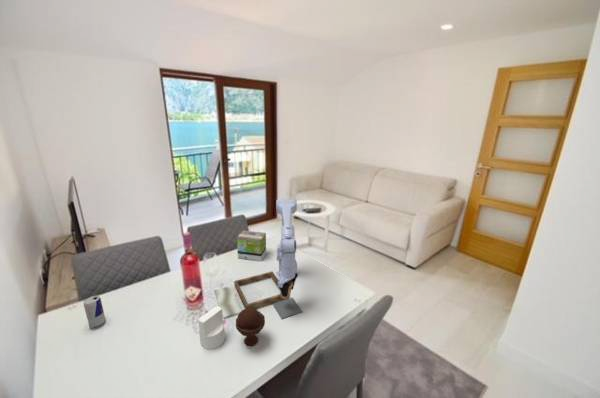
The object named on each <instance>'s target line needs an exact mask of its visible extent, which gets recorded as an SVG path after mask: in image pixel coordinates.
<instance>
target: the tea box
mask: <svg viewBox="0 0 600 398" xmlns="http://www.w3.org/2000/svg"><path fill="white" fill-rule="evenodd" d="M236 245H237V246H236V247H237V249H236V250H237V258H238V259H242V260H250V261H257V262H262V261H263V259H264V258H265V256H266V254H267V233H266V232H261V231H253V230H242V231H241V232H240V233H239V234H238V236H237V237H236Z"/></svg>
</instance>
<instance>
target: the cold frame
mask: <svg viewBox="0 0 600 398" xmlns="http://www.w3.org/2000/svg"><path fill="white" fill-rule="evenodd" d="M278 278H279V277H278V276H276V274H275V272H273V271H268V272H264V273H261V274H257V275H253V276H249V277H246V278H242V279H240V278H239V279H238V280H235V281H234V282H233V283H234V285H233V286H234V288H235V291H236V292H237V295H238V297H239V299H240V301H241V303H242V305H243V307H244V309H247V308H250V309H251V308H253V309H256V310H258V309H261V308H264V307H266V306H269V305H273V304H274V303H277V302H280V301H283V300H287V299H282V298H281V297H280V293H279V294H276V295H273V296H270V297H266V298H263V299H262V298H261V299H260V300H255V301H253V302H250V303H248V301H247V299H246V297H245V295H244V292H243V290H242V289H241V287H243V286H246V285H250V284H255V283H258V282H261V281H264V280H269V279H271V280H272V282H273V283H274V284H275V286H276V288H277V289H278V290H279V292H280V291H281V290H280V288H279V287H278V285H277V282H278V281H279V279H278ZM214 294H215V297H216V299H217V304H218V306H219V307H221V308H222V315H223V320H224V319H227V318H228V319H229V318H231V317H235V316H238V315H239V313H240V312H241V311H242V310H243V309H241V305H240V304H239V301H238V299H237V297H236V296H237V295H235V292H234V290H233V288H232V286H231V285H230V286H226V287H222V288H219V289H215V290H214Z"/></svg>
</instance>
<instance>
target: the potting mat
mask: <svg viewBox="0 0 600 398" xmlns="http://www.w3.org/2000/svg"><path fill="white" fill-rule="evenodd" d="M272 306H273V307H274V309H275V311H276V312H277V314H278V315H279V317H280V319H281V320H283V319H284V320H285V319H287V318H290V317H293V316H296V315H298V314H301V313H303V310H302V308H301V307H300V305H298V302H296V300H295V299H294V297H290V298H289V299H286V300H283V301H280V302H277V303H273V304H272Z"/></svg>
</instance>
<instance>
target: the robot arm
mask: <svg viewBox="0 0 600 398" xmlns="http://www.w3.org/2000/svg"><path fill="white" fill-rule="evenodd" d="M275 203H276V204H275V205H276V206H275V207H276V210H275V211H276V213H277V214H280V216H281V227H280V233H281V235H280V236H281V237H280V241H279V242H280V244H278V245H277V246H276V261H277V262H278V271H276V272H275V273H276V274H275V275H277V277H278V278H279V279H278V280H279V281H278V282H277V285H278V287H279V288H280V290H281V293H282V296H284V297H287V295H288V289H289V287H290V285H291V284H288V283H287V282H288V281H289V280H291V281H292V282H293V287H292V289H291V291H292V290H293V289H294V287H295V284H296V280H297V279H298V276H299V274H298V262H297V259H296V253H297V238H296V236H295V227H294V225H293V224H292V219H293V218H292V217H293V215H294V214H295V213H296V212H297V211H298V209H297V207H298V204H297V199H296V198H295V199H290V198H289V199H276V202H275ZM278 287H277V288H278ZM280 290H279V291H280Z"/></svg>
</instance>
